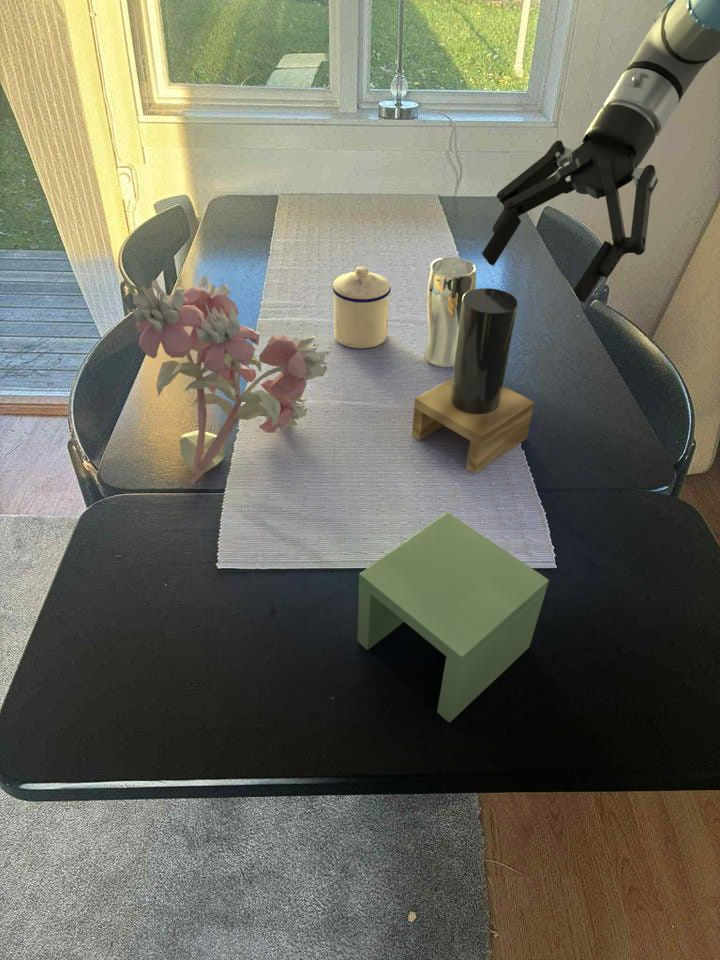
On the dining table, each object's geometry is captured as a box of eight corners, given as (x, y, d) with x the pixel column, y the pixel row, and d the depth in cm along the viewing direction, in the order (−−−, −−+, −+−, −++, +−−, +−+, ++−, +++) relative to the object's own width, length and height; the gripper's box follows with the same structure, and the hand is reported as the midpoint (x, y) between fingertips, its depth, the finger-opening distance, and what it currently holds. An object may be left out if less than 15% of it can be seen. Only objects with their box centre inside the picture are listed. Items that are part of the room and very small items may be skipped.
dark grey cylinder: (509, 401, 90) (528, 301, 81) (478, 420, 87) (494, 318, 78) (471, 381, 94) (485, 283, 85) (439, 399, 91) (451, 299, 81)
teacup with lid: (399, 339, 114) (403, 271, 106) (354, 356, 110) (355, 286, 102) (356, 311, 121) (357, 245, 114) (312, 325, 117) (310, 258, 109)
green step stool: (529, 647, 69) (549, 579, 62) (449, 723, 62) (462, 657, 56) (438, 578, 75) (447, 511, 69) (357, 641, 69) (358, 573, 62)
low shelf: (526, 438, 94) (535, 402, 90) (474, 474, 89) (481, 436, 85) (464, 404, 100) (469, 368, 96) (411, 435, 94) (414, 398, 91)
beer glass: (417, 348, 112) (424, 257, 102) (458, 344, 113) (470, 255, 103) (428, 371, 107) (436, 278, 97) (471, 367, 108) (484, 275, 98)
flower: (325, 510, 81) (342, 287, 74) (124, 500, 78) (124, 267, 72) (318, 468, 100) (331, 288, 94) (156, 459, 97) (159, 272, 91)
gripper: (534, 82, 87) (442, 231, 89) (728, 124, 74) (615, 298, 76) (550, 121, 93) (464, 260, 95) (732, 166, 80) (628, 327, 82)
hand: (531, 277), depth 85 cm, fingers open, 13 cm apart
